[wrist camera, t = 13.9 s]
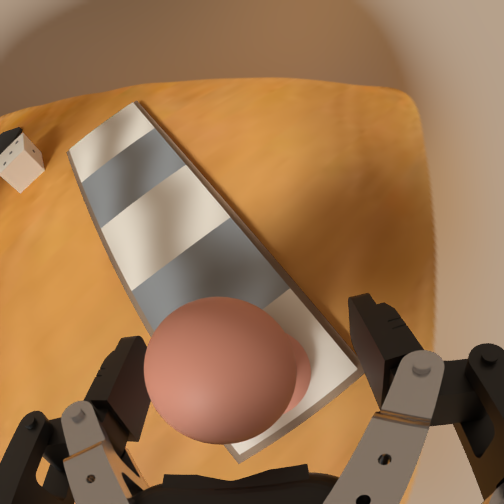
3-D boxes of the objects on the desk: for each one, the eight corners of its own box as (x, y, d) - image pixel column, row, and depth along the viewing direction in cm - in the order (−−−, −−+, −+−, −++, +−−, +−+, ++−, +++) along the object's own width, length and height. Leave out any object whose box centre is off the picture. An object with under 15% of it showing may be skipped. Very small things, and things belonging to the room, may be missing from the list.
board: (240, 461, 15) (237, 465, 14) (69, 155, 27) (64, 150, 26) (366, 370, 16) (369, 369, 15) (138, 104, 28) (135, 97, 27)
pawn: (256, 432, 15) (173, 528, 4) (205, 363, 17) (57, 330, 6) (328, 379, 15) (394, 390, 4) (274, 313, 17) (229, 197, 6)
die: (20, 193, 27) (-2, 174, 23) (18, 174, 28) (-2, 155, 24) (45, 170, 27) (24, 148, 23) (42, 152, 29) (23, 131, 25)
